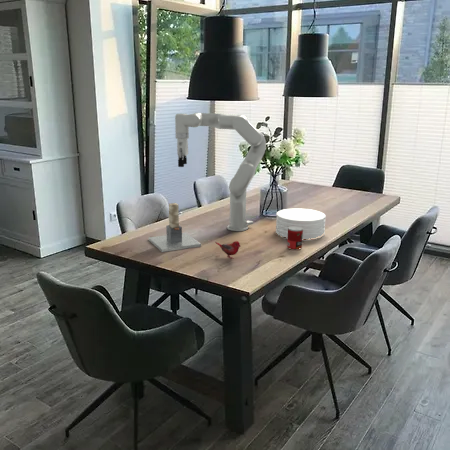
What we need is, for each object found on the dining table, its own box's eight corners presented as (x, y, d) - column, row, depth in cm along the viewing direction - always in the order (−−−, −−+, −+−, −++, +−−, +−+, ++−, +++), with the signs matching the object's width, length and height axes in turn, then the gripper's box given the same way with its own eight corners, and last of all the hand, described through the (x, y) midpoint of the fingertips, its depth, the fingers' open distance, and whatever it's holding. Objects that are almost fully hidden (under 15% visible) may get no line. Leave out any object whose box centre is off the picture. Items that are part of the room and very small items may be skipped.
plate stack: (330, 230, 297) (331, 212, 294) (315, 243, 273) (316, 223, 270) (286, 224, 309) (287, 206, 306) (268, 235, 286) (268, 216, 282)
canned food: (298, 251, 260) (299, 231, 257) (284, 248, 264) (285, 228, 261) (304, 247, 267) (305, 227, 263) (290, 244, 271) (291, 225, 267)
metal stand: (185, 235, 285) (185, 219, 282) (201, 246, 266) (201, 229, 264) (148, 240, 276) (147, 223, 273) (161, 252, 257) (161, 234, 254)
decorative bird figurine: (238, 262, 244) (238, 242, 241) (212, 253, 255) (212, 235, 252) (242, 260, 246) (242, 241, 243) (216, 252, 257) (216, 233, 254)
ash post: (176, 238, 273) (175, 202, 267) (179, 240, 270) (178, 204, 264) (169, 239, 271) (168, 203, 266) (172, 241, 268) (171, 205, 262)
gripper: (186, 137, 277) (186, 168, 282) (190, 134, 294) (191, 163, 298) (172, 137, 278) (173, 167, 283) (178, 134, 294) (178, 162, 299)
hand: (182, 165), depth 290 cm, fingers open, 9 cm apart
